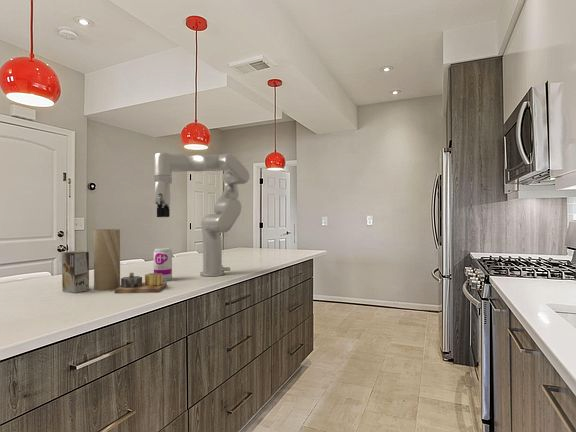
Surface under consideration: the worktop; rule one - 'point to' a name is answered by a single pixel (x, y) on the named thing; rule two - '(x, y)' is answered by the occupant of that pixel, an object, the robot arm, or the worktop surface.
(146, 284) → the brass gear
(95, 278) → the tube
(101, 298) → the worktop surface
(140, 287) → the gear board
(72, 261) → the coffee box
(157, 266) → the supplement can
